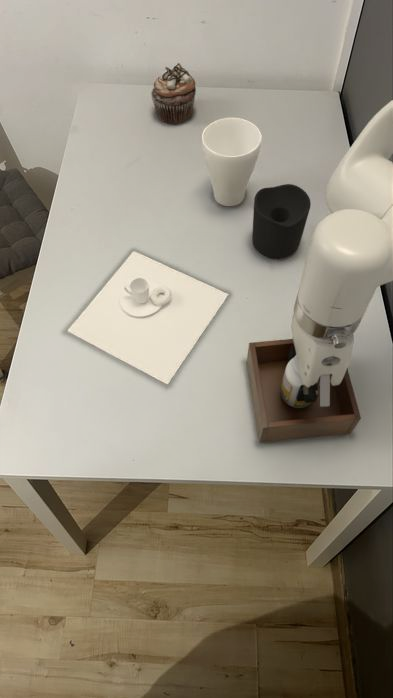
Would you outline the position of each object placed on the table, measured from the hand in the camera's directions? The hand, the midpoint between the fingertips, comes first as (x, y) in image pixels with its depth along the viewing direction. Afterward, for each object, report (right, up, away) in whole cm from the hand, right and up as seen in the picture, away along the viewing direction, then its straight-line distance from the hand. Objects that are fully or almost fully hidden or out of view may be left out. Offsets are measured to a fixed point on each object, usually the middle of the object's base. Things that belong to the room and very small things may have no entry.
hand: (303, 378), depth 72 cm
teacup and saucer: (-23, +10, +14) cm, 29 cm away
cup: (-9, +34, +27) cm, 45 cm away
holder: (0, -3, +5) cm, 6 cm away
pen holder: (-1, +24, +21) cm, 32 cm away
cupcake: (-20, +57, +40) cm, 73 cm away
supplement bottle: (0, -2, +4) cm, 5 cm away
